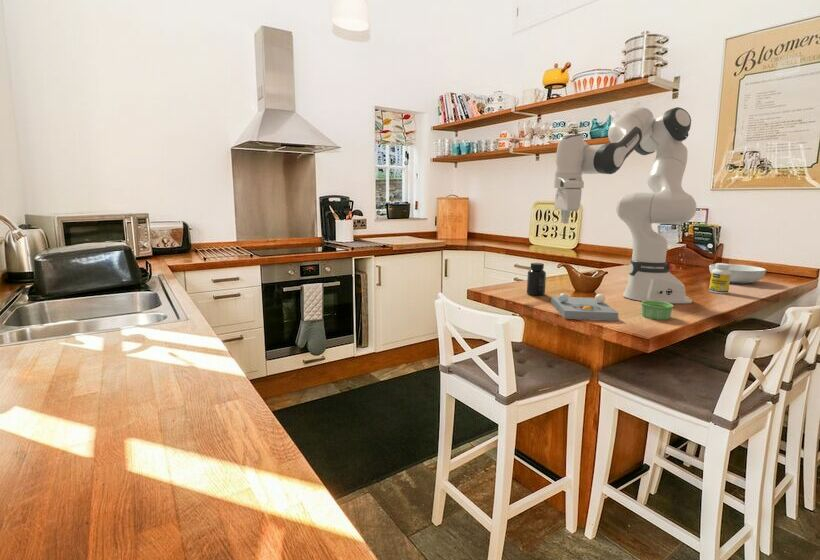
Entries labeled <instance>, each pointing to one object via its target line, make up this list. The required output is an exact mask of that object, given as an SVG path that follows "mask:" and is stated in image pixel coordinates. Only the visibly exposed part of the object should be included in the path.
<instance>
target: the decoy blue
mask: <svg viewBox="0 0 820 560" xmlns="http://www.w3.org/2000/svg"><path fill="white" fill-rule="evenodd" d="M557 297H558V298H559V301H560V302H562V303H565V302H567V301H568V299H569V297H570V296H569V295H568V294H567V293H566V292H565V293H564V292H562V293H560V294H559V295H558V296H557Z"/></svg>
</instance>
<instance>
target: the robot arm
mask: <svg viewBox="0 0 820 560" xmlns="http://www.w3.org/2000/svg"><path fill="white" fill-rule="evenodd" d="M691 127H692V118H691V115H690V113H688V111H687V110H686V109H684V108H682V107H679V106H678V107H677V106H676V107H673V108H671V109H667V110H666V111H665V112H664V113H662V114H660V115H659V116H656V117H654V114H653V112H652V111H651V110H650V109H649V108H646V107H643V106H642V107H637V108H634V109H631V110H629V111H628V112H625V113H624V114H622V115H620V116H619V117H618V118H616V119H615V120H614V121H613V122H612V123H611V124H610V125H609V128H608V131H607V137H608V140H609V143H603V144H602V143H601V144H592V145H590V144H589V143H587V142H586V141H585V140H584V135H583V134H580V133H576V134H575V133H573V134H567V135H563V136H562V137H560V138H559V140H558V143H557V148H556V155H555V164H556V168H555V169H556V170H555V171H554V180H553V181H554V184H553V187H554V189H556V190H555V197H554V209H556V210H560V219H561V221H560V222H561V223H562V224H569V220H570V216H571V213H572V212H578V211H579V209H580V207H581V201H582V192H583V191H582V189H584V187H585V181H584V180H583V174H585V175H592V174H595V175H596V174H597V175H598V174H603V175H612V174H615V173H616V172H618V171H619V170H620V169H621V167H622V166H623V164H624V162H625V160H626V159H627V158H628V156H630V155H631V154H632V153H633V151H635V152H636V153H638V154H639V155H641V156H648V155H651V154H654V153H655V152H656V156H655V158H654V160H653V163H652V166H651V168H650V172H649V174H648V176H647V180H646V181H647V186H648V187H649V189H650V190H651V191H652V192H632V193H627V194H623V195H622V196H621V197H620V198H619V199H618V201H617V203H616V208H615V209H616V210H615V211H616V214H617V216H618V217H619V219H620V220H621V221H623V222H624V223H625V224H626V226H627V227H628V229H629V231H630V233H631V236H632V256H631V259H630V262H629V266H628V267H629V269H628V272H629V273H628V274H629V275H628V281H627V284H626V287H625V290H624V292H623V295H622V296H623V297H625V298H626V299H628V300H629V299H630V300H633V301H639V302H642V301H661V302H666V303H670V304H692V301H693V300H692V298H690V297H688V296H686V287H685V284H684V283H683V282H682V281H680V280H679V279H678V278H677V277H676V276H675V275H673V274H672V273H671V272H670V270H672V271H674V270H675V269H677V266H675V264H673V263H669V262H667V261H666V260H667V252H668V251H667V250H668V240H667V239H666V238H665V237H664V236H663V235H662V234H660V233H658V232H656V231H655V230H654V229H653V227H652V226H653V225H652V224H662V225H677V224H685V223H689V222H690V221H691V220H692V219H693V218H694V217H695V215H696V212H697V202H696V200H695V198H694V197H693V196H692V195H691V194H689V193H687V192H686V191H685V190H684V189H683V186H682V181H683V178H684V175H685V174H684V173H685V171H686V167H687V162H688V152H689V151H688V148H687V146H686V145H685V144H683V142H684V141H686V140H687V138H688V137H689V132H690V130H691Z"/></svg>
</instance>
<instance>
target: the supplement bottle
mask: <svg viewBox="0 0 820 560" xmlns="http://www.w3.org/2000/svg"><path fill="white" fill-rule="evenodd" d="M544 267H545V265H544V263H542V262H531V263H530V267H529V268H530V269H529V270H528V272H527V279H526V281H527V282H526V293H527V295H528V294H529V296H533V295H534V296H536V297H541V296H545V294H546V282H547V281H546V279H547V272H546V271H545V270H544ZM534 296H533V297H534Z"/></svg>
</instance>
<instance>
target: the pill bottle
mask: <svg viewBox="0 0 820 560" xmlns="http://www.w3.org/2000/svg"><path fill="white" fill-rule="evenodd" d="M715 264H716V265H715V267H716V269H714V270H712V273H710V274H711V275H710V280H709V288H708V292H711V293H713V294H723V295H725V294H728V293H729V288H730V284H731V283H730V278H731V272H730V271H729V270H728V268H729V267H730V264H731V263H724V262H717V263H715Z"/></svg>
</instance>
